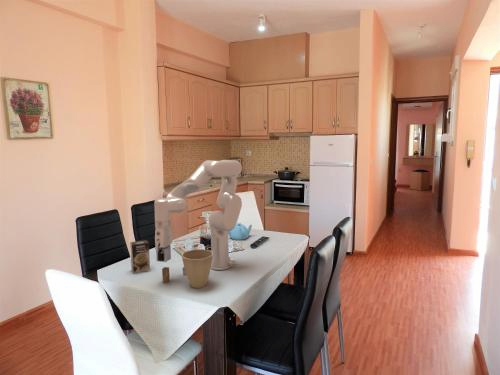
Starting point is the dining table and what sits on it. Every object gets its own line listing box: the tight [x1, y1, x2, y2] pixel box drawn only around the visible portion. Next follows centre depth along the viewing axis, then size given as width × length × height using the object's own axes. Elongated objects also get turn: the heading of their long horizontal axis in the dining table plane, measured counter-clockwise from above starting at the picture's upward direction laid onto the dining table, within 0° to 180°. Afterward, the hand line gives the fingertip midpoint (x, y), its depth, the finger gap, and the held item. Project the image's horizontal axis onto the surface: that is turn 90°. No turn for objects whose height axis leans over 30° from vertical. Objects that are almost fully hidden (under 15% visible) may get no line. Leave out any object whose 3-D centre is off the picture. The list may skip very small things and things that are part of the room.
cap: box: [155, 245, 172, 263], centre depth 181 cm, size 5×5×7 cm
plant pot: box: [181, 248, 213, 289], centre depth 177 cm, size 15×15×16 cm
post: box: [161, 266, 171, 283], centre depth 183 cm, size 3×3×7 cm
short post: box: [182, 266, 187, 276], centre depth 193 cm, size 3×3×4 cm
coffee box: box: [129, 239, 151, 274], centre depth 199 cm, size 9×6×16 cm
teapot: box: [227, 222, 253, 241], centre depth 260 cm, size 15×15×11 cm
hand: (163, 258), depth 182 cm, fingers closed on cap, 5 cm apart
